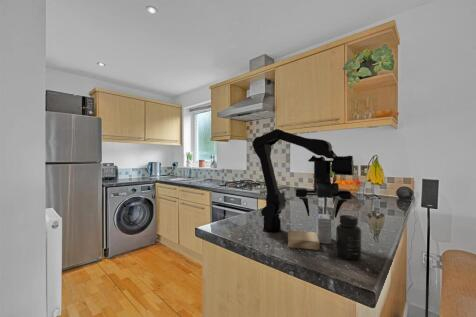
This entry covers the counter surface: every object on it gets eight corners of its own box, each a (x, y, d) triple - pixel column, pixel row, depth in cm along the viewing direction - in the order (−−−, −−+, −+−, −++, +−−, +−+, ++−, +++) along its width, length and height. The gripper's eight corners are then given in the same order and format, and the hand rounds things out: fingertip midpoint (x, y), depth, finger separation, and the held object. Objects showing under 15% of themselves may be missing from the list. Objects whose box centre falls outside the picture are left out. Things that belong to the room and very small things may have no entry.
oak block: (287, 248, 74) (287, 239, 74) (288, 238, 84) (288, 230, 84) (319, 251, 72) (319, 241, 72) (315, 240, 82) (316, 232, 82)
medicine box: (331, 244, 77) (331, 219, 77) (318, 243, 78) (318, 218, 78) (327, 236, 84) (327, 214, 85) (315, 235, 85) (315, 213, 86)
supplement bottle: (331, 252, 70) (332, 214, 70) (352, 251, 71) (352, 213, 71) (344, 262, 63) (344, 220, 63) (366, 261, 64) (366, 219, 64)
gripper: (296, 175, 76) (295, 220, 76) (356, 176, 71) (355, 225, 71) (295, 173, 87) (295, 213, 86) (347, 174, 82) (347, 216, 82)
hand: (321, 216), depth 81 cm, fingers open, 9 cm apart
